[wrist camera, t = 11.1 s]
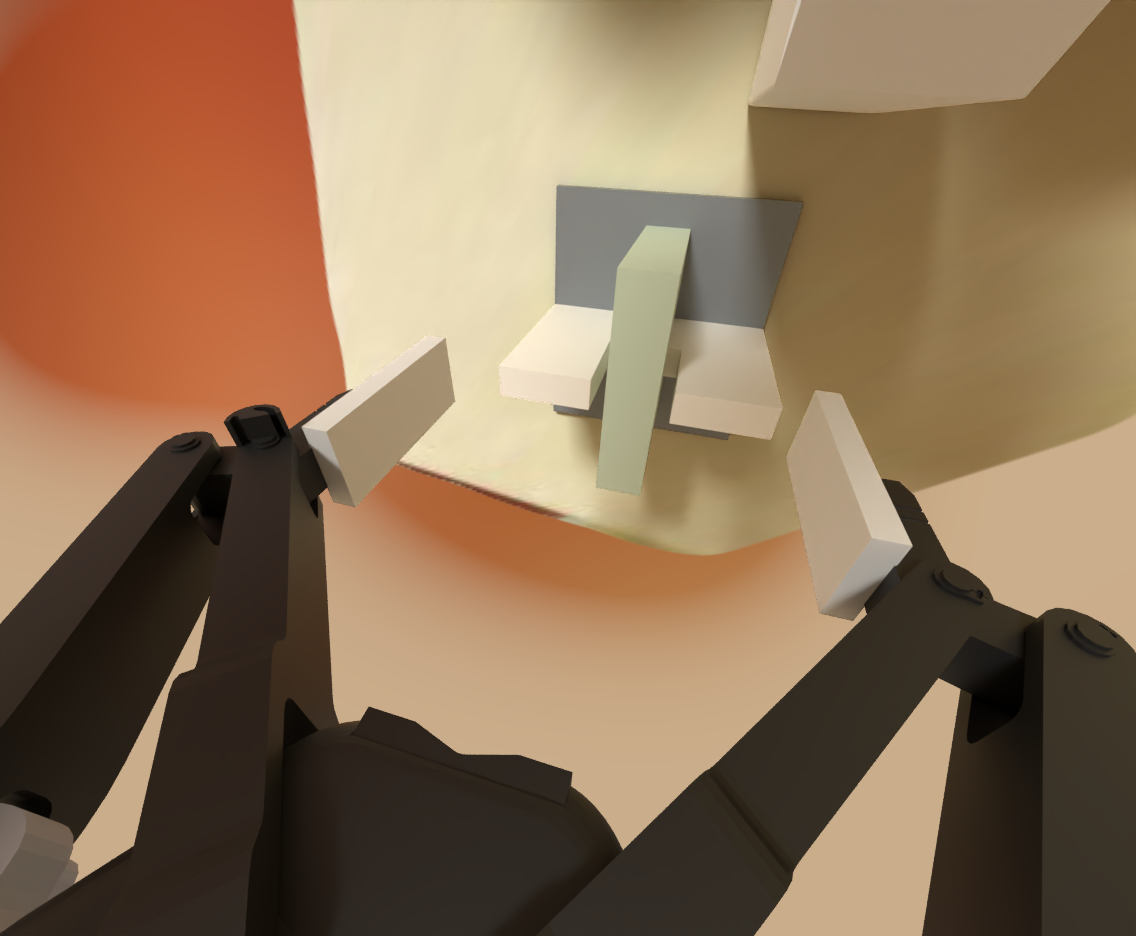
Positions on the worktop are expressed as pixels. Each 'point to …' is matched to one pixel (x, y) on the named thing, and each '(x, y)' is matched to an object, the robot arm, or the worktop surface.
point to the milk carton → (911, 51)
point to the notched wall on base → (702, 318)
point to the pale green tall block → (639, 353)
